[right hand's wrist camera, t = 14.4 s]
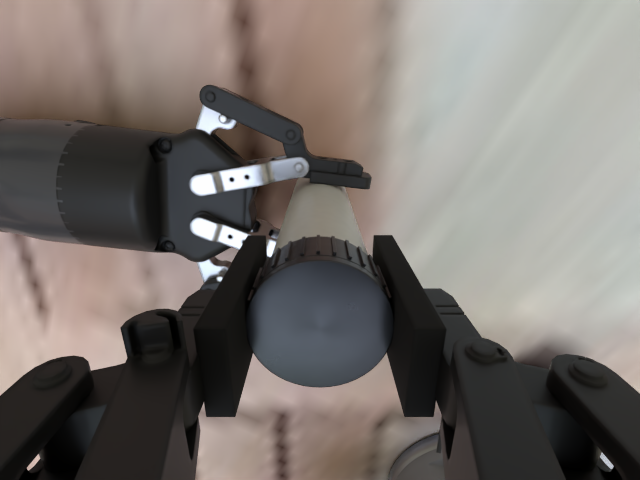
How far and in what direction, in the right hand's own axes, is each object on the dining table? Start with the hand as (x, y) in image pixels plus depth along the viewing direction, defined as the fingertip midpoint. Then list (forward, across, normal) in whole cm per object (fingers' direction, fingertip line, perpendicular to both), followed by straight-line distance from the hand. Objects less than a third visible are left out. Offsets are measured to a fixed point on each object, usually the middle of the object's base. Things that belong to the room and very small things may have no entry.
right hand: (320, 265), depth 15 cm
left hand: (+8, -3, 0) cm, 9 cm away
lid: (-4, 0, 0) cm, 4 cm away
